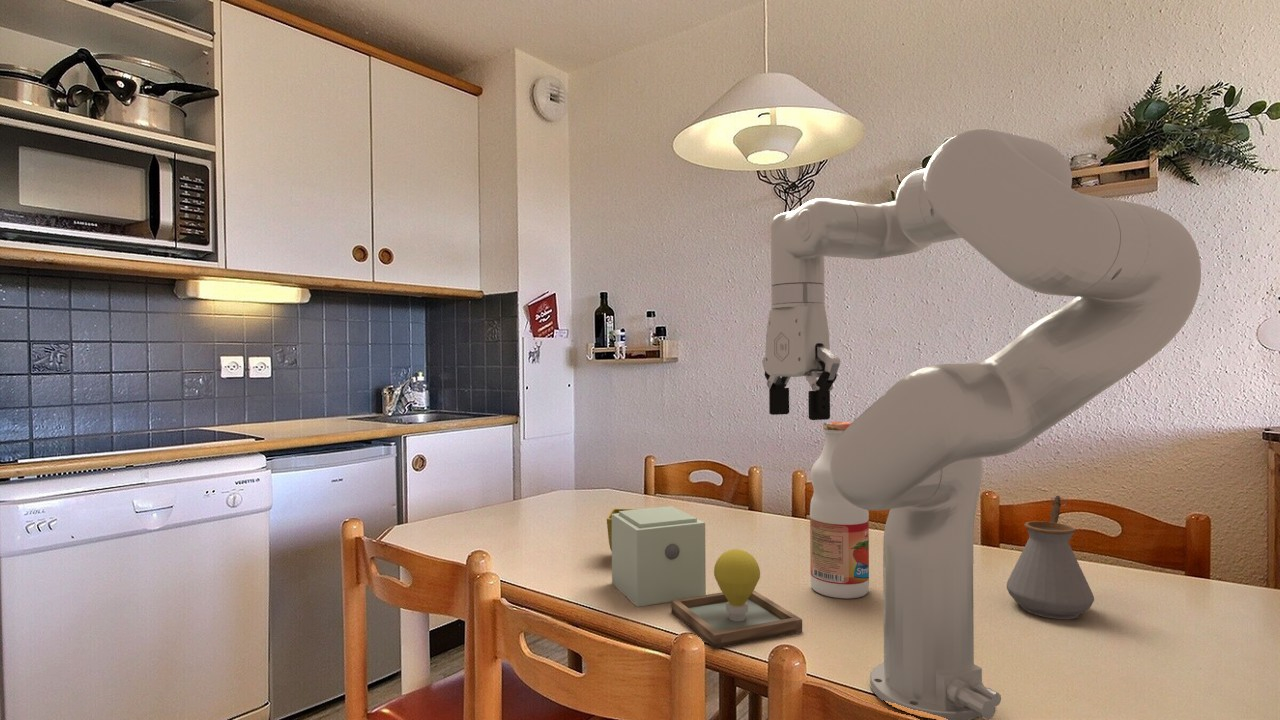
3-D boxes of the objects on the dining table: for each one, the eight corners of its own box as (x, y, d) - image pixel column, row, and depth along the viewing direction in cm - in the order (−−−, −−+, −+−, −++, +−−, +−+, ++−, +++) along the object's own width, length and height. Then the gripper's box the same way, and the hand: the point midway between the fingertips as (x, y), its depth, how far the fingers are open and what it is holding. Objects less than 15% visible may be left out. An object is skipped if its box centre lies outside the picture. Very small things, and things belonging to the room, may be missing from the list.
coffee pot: (1092, 631, 94) (1091, 525, 94) (1000, 612, 101) (999, 514, 101) (1100, 588, 111) (1099, 499, 111) (1021, 575, 118) (1020, 491, 118)
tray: (802, 632, 94) (802, 619, 94) (714, 648, 89) (714, 635, 89) (750, 599, 107) (750, 587, 107) (671, 612, 102) (671, 600, 102)
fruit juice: (809, 578, 117) (808, 419, 116) (865, 582, 115) (864, 420, 115) (812, 597, 107) (810, 425, 107) (873, 601, 105) (871, 425, 105)
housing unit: (706, 596, 108) (706, 519, 108) (638, 607, 104) (637, 526, 104) (673, 573, 120) (673, 503, 120) (611, 582, 115) (610, 509, 115)
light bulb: (760, 628, 93) (759, 557, 93) (712, 625, 95) (712, 555, 95) (760, 611, 100) (760, 544, 100) (715, 608, 101) (715, 542, 101)
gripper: (744, 303, 103) (745, 413, 103) (812, 292, 87) (813, 423, 87) (785, 304, 105) (786, 411, 106) (858, 293, 89) (859, 420, 89)
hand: (798, 416), depth 96 cm, fingers open, 9 cm apart
